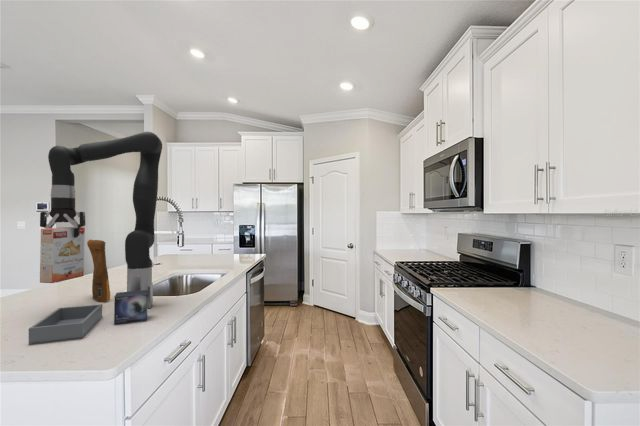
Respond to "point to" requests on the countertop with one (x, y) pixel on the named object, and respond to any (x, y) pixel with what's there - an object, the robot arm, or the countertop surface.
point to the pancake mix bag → (99, 271)
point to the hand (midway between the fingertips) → (63, 237)
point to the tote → (65, 324)
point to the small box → (130, 307)
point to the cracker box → (61, 254)
